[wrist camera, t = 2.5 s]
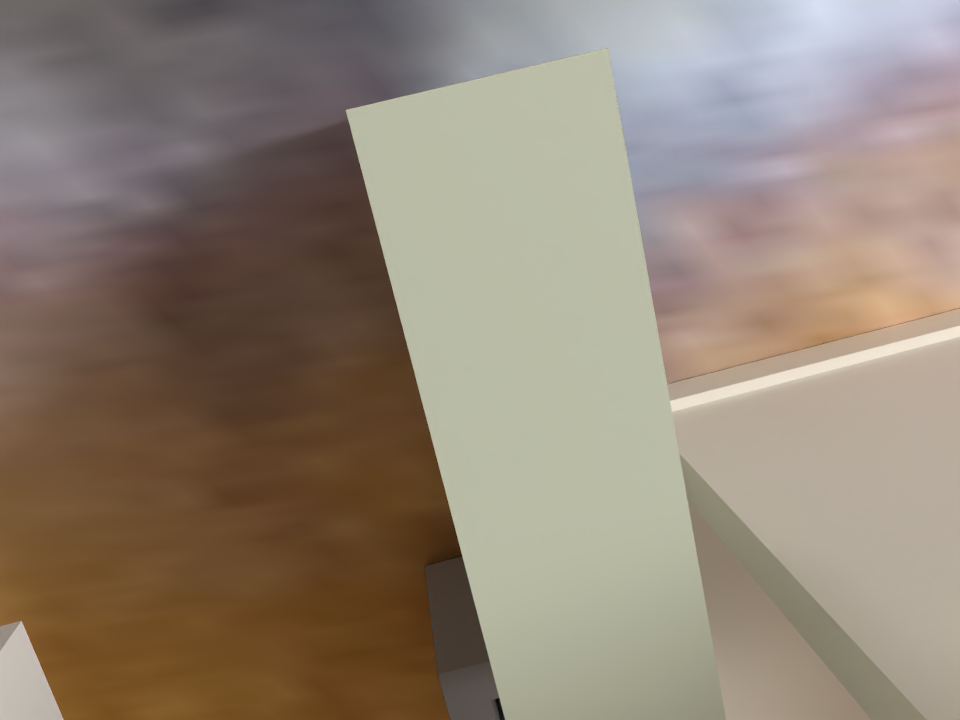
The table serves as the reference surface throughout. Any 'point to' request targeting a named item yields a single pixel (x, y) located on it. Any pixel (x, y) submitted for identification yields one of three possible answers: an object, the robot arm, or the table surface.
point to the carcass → (831, 525)
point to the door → (541, 399)
